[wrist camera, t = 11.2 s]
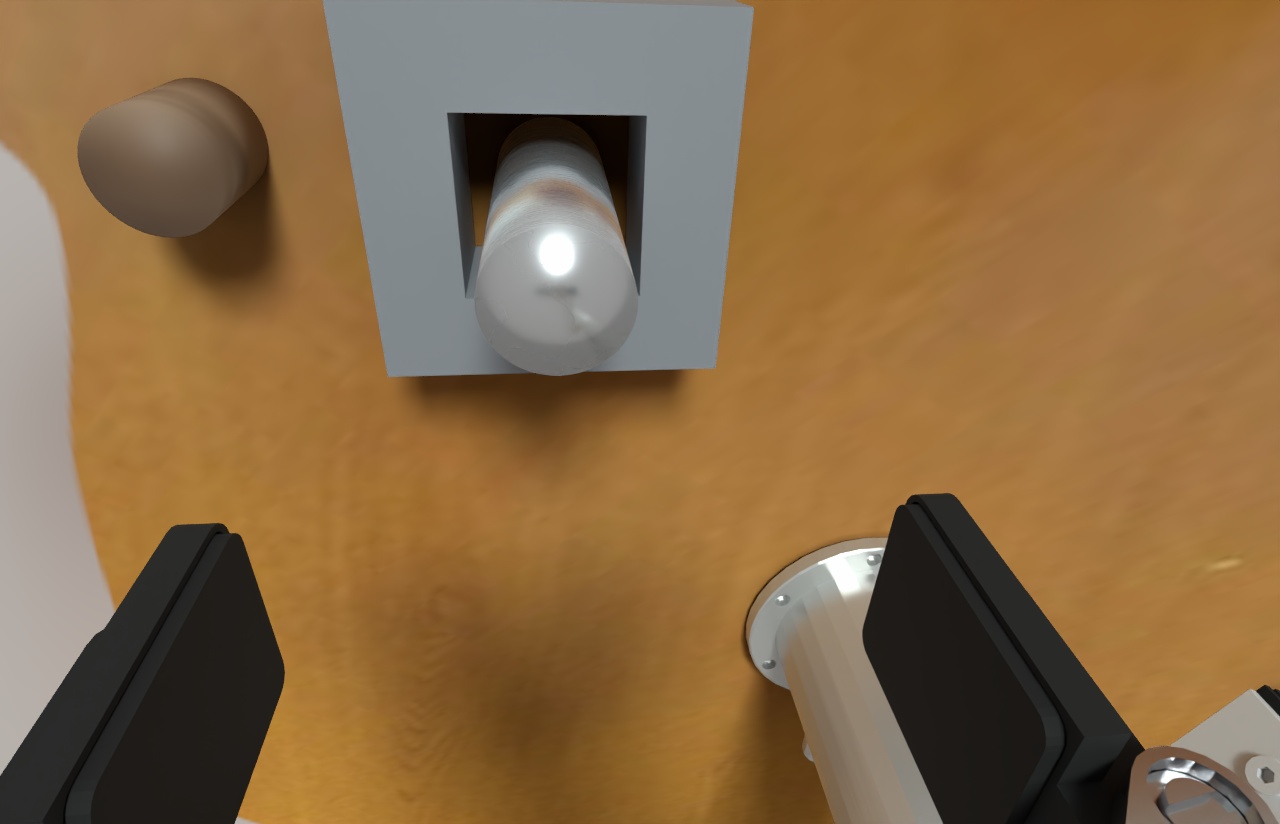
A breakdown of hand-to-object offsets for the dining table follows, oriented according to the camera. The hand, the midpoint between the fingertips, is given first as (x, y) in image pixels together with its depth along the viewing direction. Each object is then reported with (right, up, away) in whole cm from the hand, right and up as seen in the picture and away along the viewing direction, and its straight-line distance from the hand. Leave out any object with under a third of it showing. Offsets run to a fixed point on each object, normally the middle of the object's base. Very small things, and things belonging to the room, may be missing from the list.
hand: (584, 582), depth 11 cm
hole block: (-3, +12, +17) cm, 21 cm away
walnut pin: (-15, +12, +15) cm, 24 cm away
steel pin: (-3, +12, +17) cm, 21 cm away
